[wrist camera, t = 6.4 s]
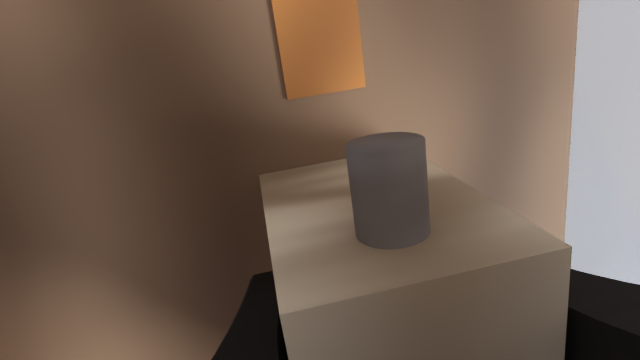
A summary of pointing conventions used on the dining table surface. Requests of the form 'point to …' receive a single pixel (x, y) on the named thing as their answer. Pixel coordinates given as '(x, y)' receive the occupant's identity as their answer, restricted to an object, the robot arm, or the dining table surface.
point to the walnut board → (239, 144)
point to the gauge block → (408, 262)
